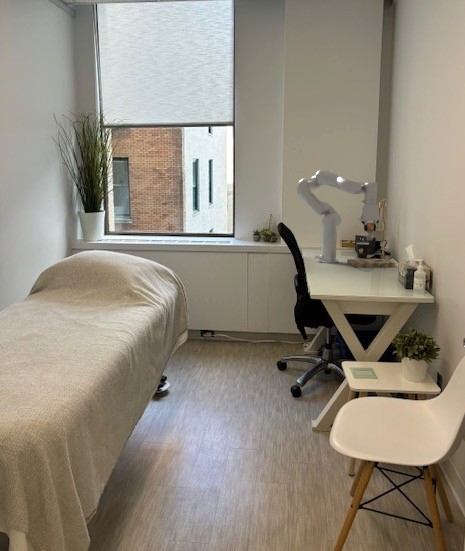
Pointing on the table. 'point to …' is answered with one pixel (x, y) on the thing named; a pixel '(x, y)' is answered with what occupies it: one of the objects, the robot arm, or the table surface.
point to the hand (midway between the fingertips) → (369, 230)
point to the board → (370, 263)
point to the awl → (370, 231)
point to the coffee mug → (363, 250)
